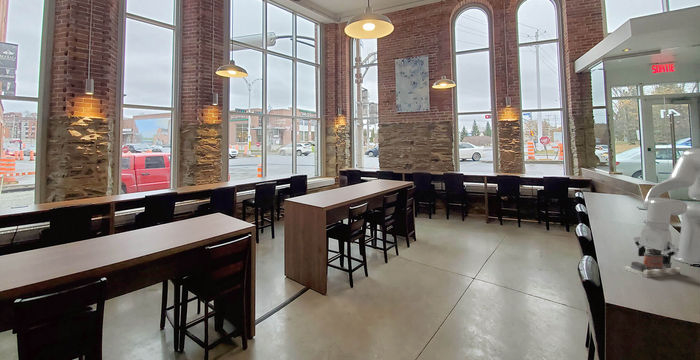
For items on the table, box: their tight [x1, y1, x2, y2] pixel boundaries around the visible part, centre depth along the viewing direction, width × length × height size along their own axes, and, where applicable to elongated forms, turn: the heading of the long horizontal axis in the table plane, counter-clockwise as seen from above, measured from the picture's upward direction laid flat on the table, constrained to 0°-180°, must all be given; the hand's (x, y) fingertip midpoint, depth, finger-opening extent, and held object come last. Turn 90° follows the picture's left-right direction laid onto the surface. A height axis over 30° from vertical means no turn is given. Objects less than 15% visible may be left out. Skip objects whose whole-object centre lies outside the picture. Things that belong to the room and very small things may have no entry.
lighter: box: [642, 248, 665, 270], centre depth 137 cm, size 8×3×10 cm, turn 84°
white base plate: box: [624, 261, 682, 278], centre depth 138 cm, size 20×9×4 cm, turn 99°
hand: (653, 259), depth 137 cm, fingers open, 9 cm apart
